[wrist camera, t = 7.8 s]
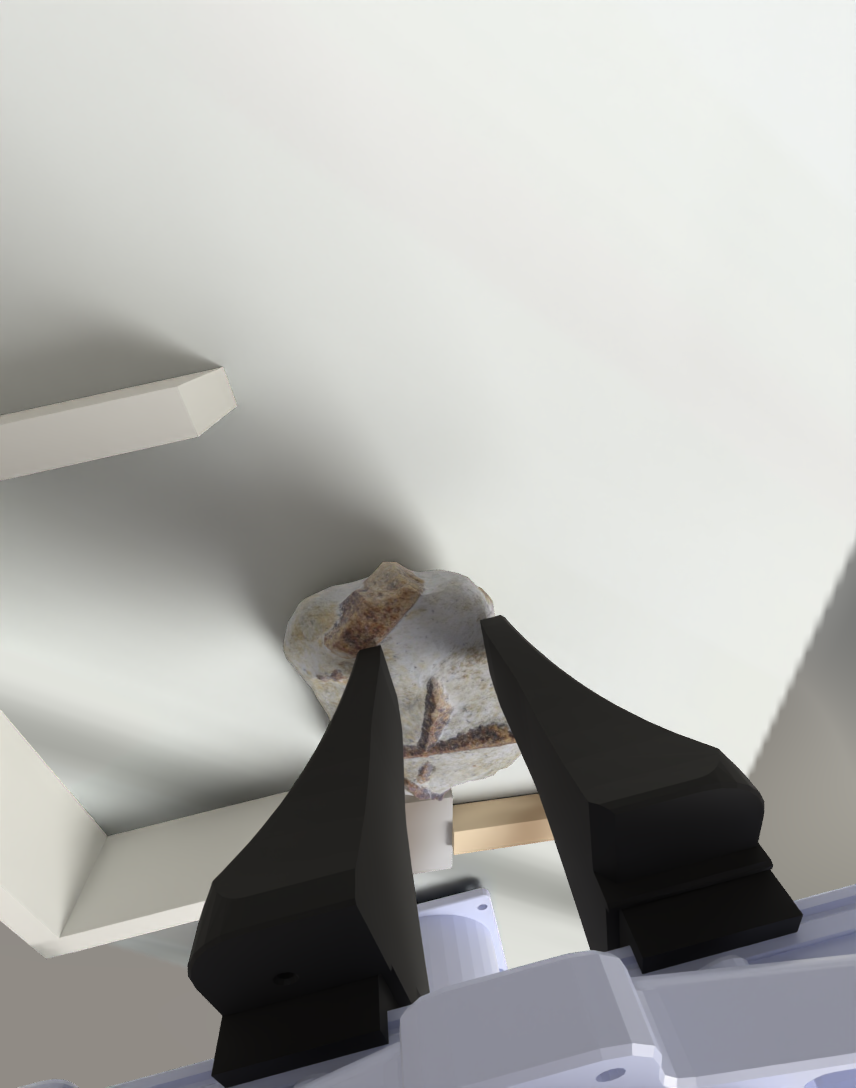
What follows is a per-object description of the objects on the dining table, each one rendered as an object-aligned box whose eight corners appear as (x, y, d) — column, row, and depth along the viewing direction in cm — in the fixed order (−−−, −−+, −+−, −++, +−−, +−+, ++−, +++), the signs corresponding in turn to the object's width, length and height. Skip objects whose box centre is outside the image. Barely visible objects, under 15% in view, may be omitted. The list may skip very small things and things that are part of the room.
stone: (553, 721, 18) (573, 784, 16) (383, 775, 20) (379, 840, 17) (461, 518, 14) (470, 563, 12) (252, 602, 15) (223, 658, 13)
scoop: (625, 757, 21) (639, 780, 20) (608, 827, 23) (620, 851, 22) (356, 792, 20) (355, 819, 19) (364, 863, 22) (365, 891, 21)
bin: (378, 785, 20) (382, 873, 17) (95, 856, 20) (46, 959, 16) (223, 366, 12) (177, 386, 9) (-252, 470, 12) (-468, 527, 9)
